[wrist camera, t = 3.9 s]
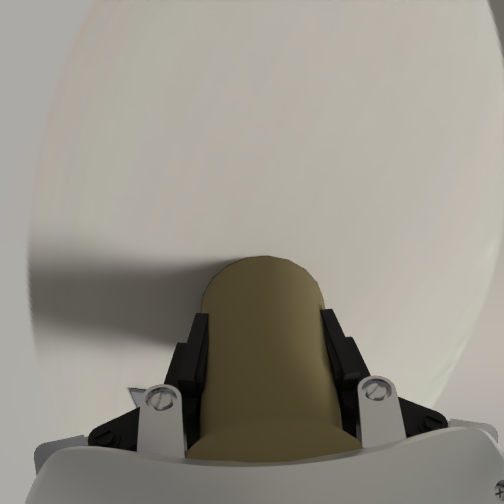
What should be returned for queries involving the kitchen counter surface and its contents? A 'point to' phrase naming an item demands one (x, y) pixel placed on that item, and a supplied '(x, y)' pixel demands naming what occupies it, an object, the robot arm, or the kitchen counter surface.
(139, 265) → the kitchen counter surface
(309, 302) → the cork
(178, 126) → the kitchen counter surface
